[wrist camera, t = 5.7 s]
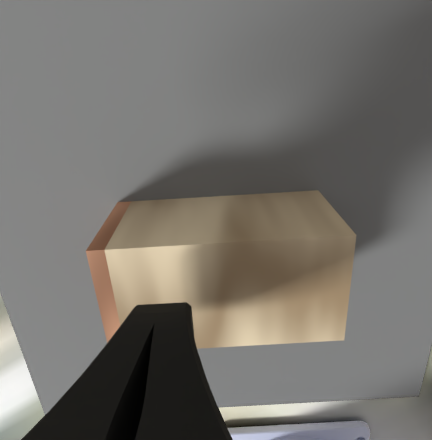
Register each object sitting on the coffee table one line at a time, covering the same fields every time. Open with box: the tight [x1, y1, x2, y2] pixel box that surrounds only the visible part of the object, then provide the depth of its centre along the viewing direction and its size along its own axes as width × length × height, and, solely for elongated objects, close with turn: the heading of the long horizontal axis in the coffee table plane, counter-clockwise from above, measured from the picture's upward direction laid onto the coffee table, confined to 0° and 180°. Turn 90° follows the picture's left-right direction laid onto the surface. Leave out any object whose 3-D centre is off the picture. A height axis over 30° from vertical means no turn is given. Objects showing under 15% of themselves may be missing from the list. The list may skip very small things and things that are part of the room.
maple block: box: [86, 190, 356, 349], centre depth 12 cm, size 4×4×7 cm
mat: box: [0, 0, 432, 415], centre depth 13 cm, size 20×18×1 cm
